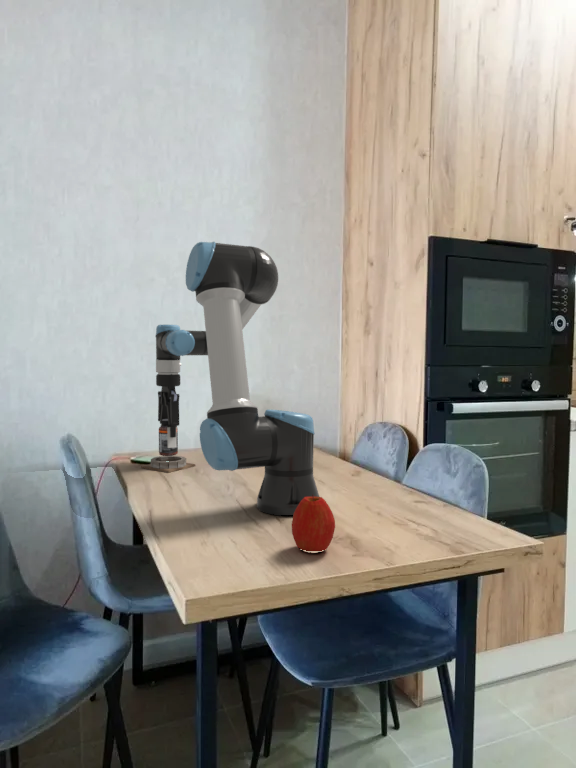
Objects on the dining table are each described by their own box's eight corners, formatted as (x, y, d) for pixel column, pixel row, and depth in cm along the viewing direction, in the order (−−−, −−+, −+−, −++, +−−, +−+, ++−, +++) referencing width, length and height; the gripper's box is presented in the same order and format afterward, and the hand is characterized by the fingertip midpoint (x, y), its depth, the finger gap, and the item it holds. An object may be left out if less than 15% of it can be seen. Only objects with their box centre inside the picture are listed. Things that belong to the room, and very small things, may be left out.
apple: (332, 542, 107) (333, 488, 106) (337, 558, 98) (338, 499, 98) (290, 542, 106) (291, 488, 106) (292, 558, 98) (292, 499, 98)
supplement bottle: (164, 452, 178) (164, 418, 177) (181, 453, 176) (181, 418, 175) (155, 455, 172) (155, 420, 171) (172, 456, 170) (172, 421, 169)
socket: (168, 472, 166) (168, 464, 166) (141, 467, 172) (141, 459, 172) (195, 466, 176) (195, 458, 176) (168, 461, 182) (168, 454, 182)
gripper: (190, 374, 166) (190, 449, 168) (169, 372, 182) (169, 440, 184) (166, 375, 162) (166, 451, 164) (147, 372, 178) (147, 442, 180)
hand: (168, 445), depth 174 cm, fingers closed on supplement bottle, 6 cm apart
